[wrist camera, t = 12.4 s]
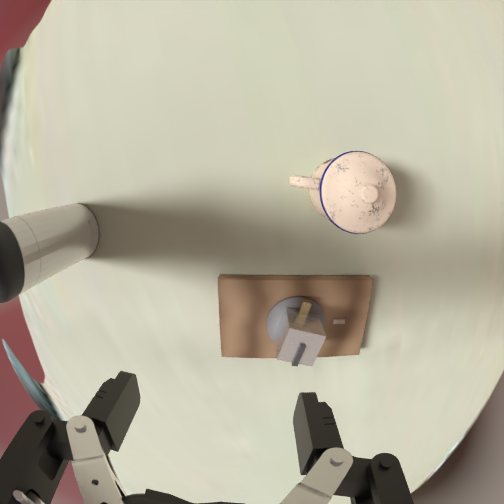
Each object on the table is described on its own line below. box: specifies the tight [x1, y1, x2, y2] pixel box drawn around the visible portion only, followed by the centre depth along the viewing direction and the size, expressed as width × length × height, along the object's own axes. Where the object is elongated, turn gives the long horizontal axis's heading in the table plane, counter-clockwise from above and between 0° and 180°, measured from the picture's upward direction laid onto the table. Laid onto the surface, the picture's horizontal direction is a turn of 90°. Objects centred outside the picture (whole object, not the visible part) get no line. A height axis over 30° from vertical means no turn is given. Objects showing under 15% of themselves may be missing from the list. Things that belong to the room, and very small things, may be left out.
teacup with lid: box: [290, 151, 396, 234], centre depth 30 cm, size 12×9×12 cm
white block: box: [275, 299, 326, 366], centre depth 35 cm, size 8×5×6 cm, turn 164°
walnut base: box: [218, 274, 373, 358], centre depth 39 cm, size 22×13×3 cm, turn 90°
